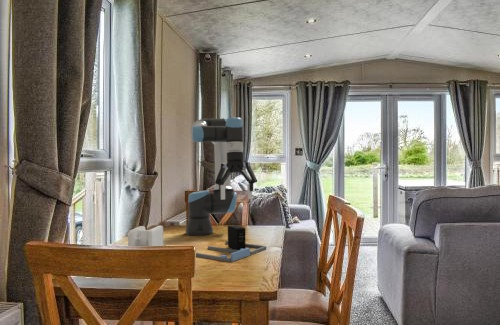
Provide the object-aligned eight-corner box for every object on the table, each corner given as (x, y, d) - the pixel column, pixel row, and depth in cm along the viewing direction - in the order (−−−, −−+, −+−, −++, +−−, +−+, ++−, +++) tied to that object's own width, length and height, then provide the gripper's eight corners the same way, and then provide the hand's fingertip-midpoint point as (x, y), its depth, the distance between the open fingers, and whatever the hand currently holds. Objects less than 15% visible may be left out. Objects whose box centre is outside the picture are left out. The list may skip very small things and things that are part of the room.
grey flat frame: (226, 243, 186) (226, 237, 186) (267, 248, 173) (267, 242, 173) (187, 255, 163) (187, 248, 163) (230, 262, 150) (230, 254, 150)
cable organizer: (151, 259, 157) (151, 230, 157) (126, 259, 158) (126, 230, 159) (163, 251, 172) (163, 224, 172) (141, 250, 173) (140, 224, 173)
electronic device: (237, 251, 168) (236, 228, 169) (227, 247, 177) (227, 225, 177) (245, 250, 170) (245, 227, 170) (236, 246, 179) (235, 224, 179)
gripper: (207, 153, 177) (208, 199, 175) (256, 149, 166) (257, 199, 164) (215, 154, 184) (216, 199, 182) (263, 150, 173) (265, 198, 171)
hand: (236, 199), depth 173 cm, fingers open, 13 cm apart
